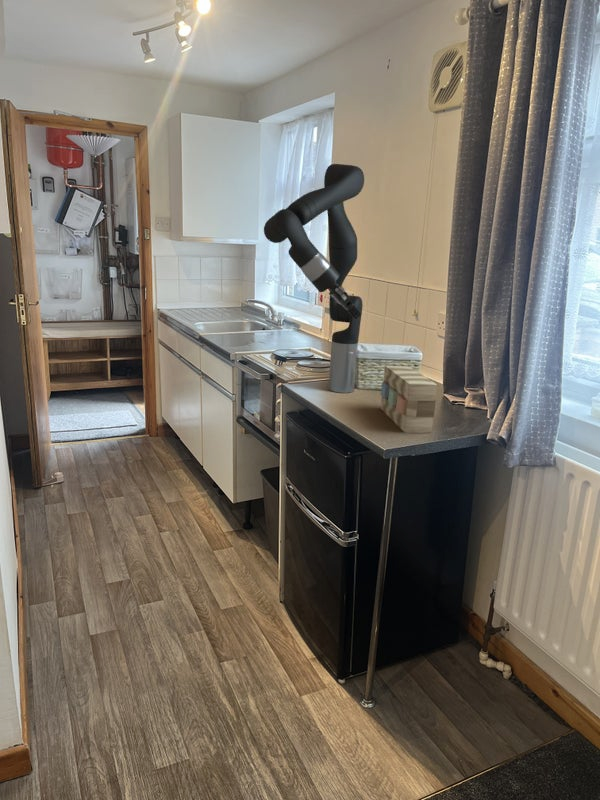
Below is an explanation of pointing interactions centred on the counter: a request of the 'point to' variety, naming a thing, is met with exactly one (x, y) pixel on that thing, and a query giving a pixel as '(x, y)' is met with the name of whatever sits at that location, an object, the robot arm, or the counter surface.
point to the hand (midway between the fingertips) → (357, 316)
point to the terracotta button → (401, 404)
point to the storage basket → (382, 362)
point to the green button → (392, 397)
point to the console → (411, 399)
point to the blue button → (385, 390)
